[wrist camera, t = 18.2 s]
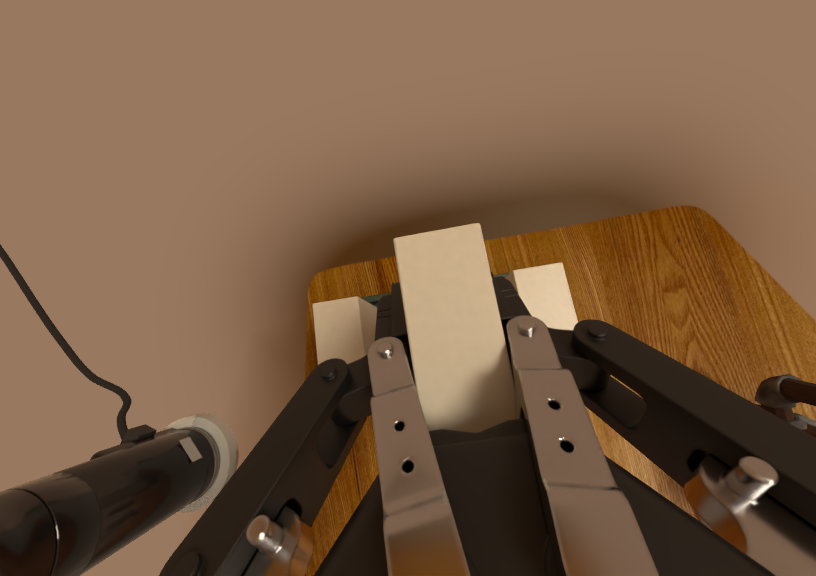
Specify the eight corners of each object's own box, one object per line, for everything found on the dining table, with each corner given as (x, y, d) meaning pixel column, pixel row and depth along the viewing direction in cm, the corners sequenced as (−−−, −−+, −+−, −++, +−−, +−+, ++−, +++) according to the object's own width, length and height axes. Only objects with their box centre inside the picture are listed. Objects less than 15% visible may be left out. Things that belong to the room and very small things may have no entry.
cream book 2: (497, 366, 37) (538, 384, 22) (483, 297, 38) (512, 270, 24) (529, 362, 36) (593, 376, 22) (513, 292, 38) (562, 261, 23)
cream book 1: (366, 386, 38) (321, 414, 23) (358, 317, 39) (312, 303, 25) (396, 381, 37) (371, 407, 23) (387, 312, 39) (357, 296, 24)
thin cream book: (432, 388, 21) (425, 458, 9) (417, 296, 23) (392, 237, 10) (473, 383, 21) (528, 445, 8) (455, 289, 22) (479, 221, 10)
